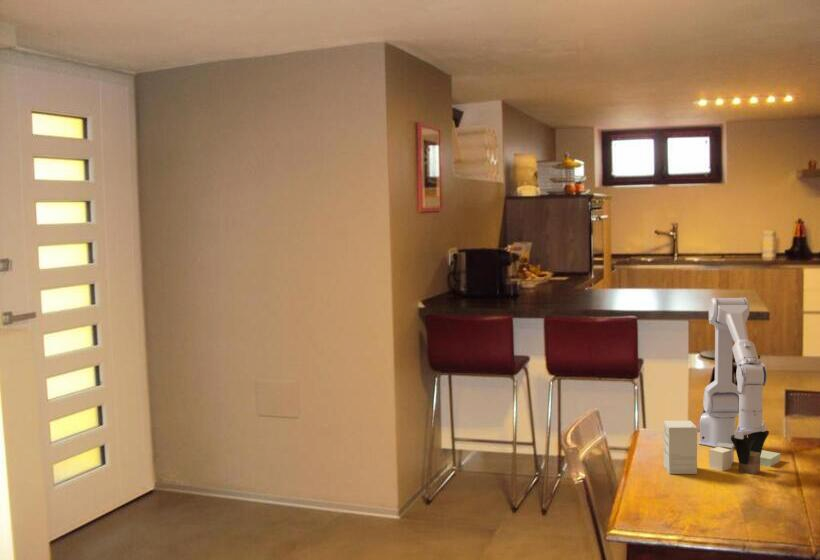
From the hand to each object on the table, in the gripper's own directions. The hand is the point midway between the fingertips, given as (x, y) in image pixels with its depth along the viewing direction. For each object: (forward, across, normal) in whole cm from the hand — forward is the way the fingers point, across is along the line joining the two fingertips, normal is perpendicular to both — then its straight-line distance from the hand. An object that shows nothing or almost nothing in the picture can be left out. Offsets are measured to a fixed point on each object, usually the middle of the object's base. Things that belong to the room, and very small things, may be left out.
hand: (749, 460), depth 226 cm
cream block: (+3, -2, +7) cm, 8 cm away
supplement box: (+3, -11, +14) cm, 18 cm away
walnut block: (+3, 0, 0) cm, 3 cm away
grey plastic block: (+3, +3, +8) cm, 9 cm away
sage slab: (+3, +11, +1) cm, 12 cm away
